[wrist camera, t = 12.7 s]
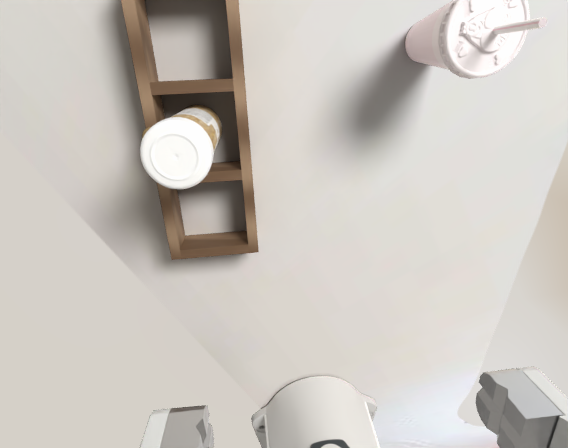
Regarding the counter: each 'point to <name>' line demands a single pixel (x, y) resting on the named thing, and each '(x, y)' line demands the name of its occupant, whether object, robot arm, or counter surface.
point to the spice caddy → (218, 172)
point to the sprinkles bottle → (181, 147)
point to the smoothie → (472, 36)
